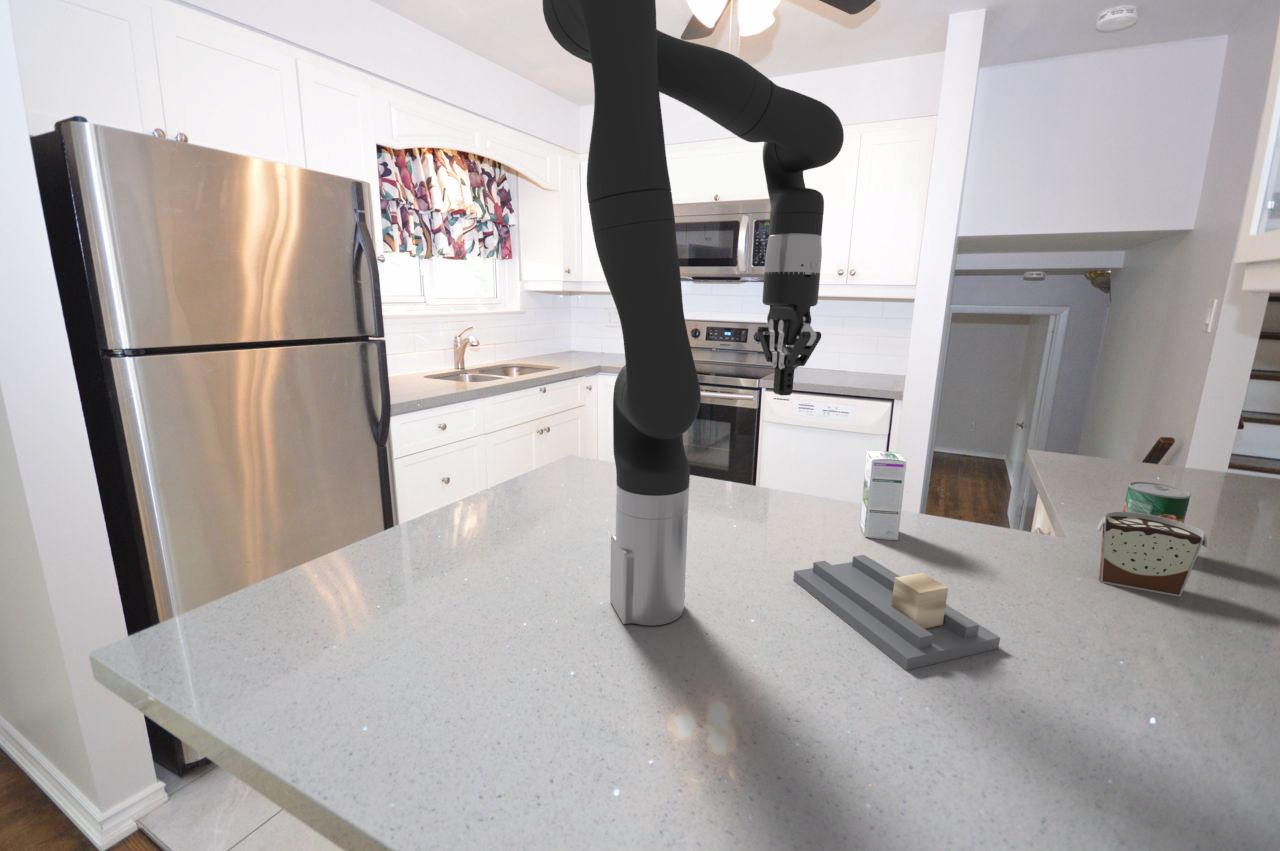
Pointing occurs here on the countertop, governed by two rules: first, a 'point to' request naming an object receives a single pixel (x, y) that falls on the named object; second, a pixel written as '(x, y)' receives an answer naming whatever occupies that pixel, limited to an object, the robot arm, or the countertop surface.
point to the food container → (1148, 552)
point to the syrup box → (882, 495)
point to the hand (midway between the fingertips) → (782, 394)
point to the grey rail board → (891, 614)
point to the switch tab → (920, 599)
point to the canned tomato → (1157, 500)
